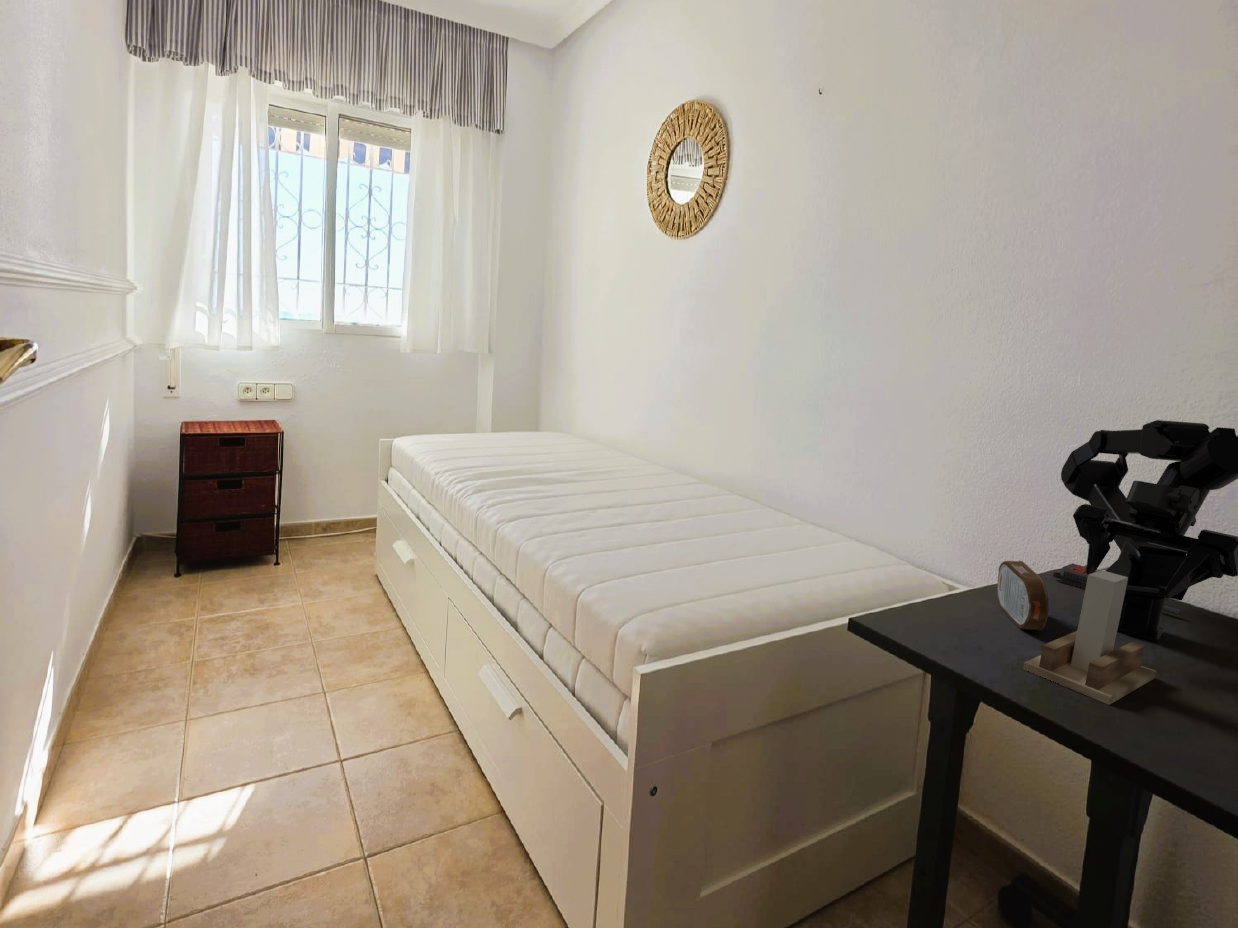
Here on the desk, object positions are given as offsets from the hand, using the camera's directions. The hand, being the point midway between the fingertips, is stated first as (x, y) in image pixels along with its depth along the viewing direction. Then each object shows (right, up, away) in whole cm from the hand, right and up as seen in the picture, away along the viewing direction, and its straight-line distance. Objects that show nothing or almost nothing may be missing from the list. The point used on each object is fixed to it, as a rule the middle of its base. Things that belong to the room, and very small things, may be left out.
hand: (1125, 584), depth 93 cm
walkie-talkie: (+20, -8, +29) cm, 36 cm away
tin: (-6, -8, +15) cm, 18 cm away
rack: (-7, -11, -3) cm, 13 cm away
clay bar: (-7, -10, -3) cm, 13 cm away
